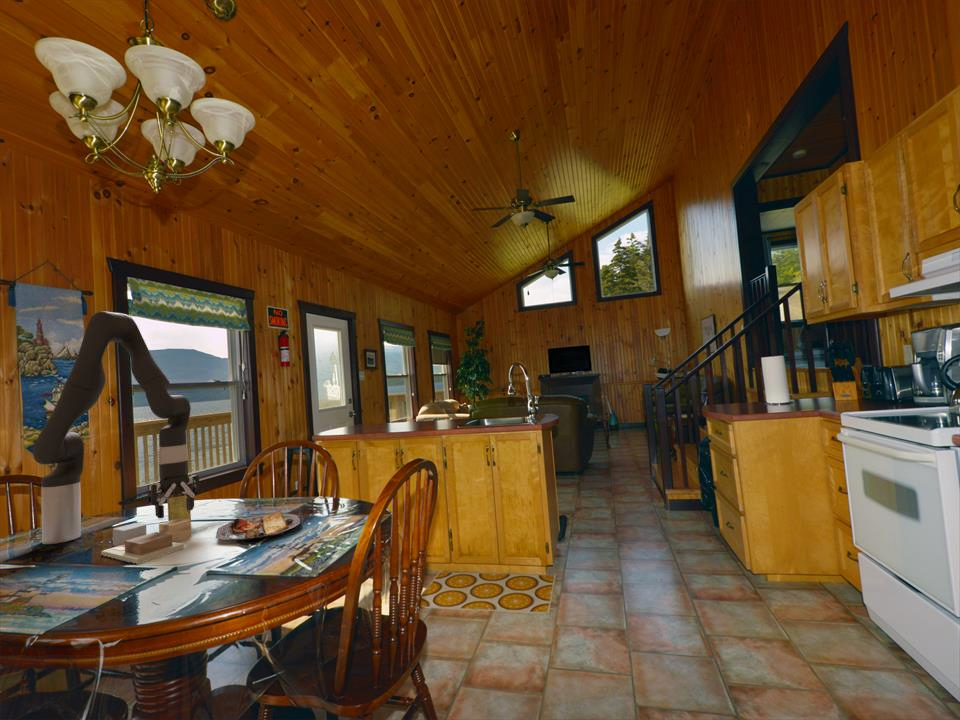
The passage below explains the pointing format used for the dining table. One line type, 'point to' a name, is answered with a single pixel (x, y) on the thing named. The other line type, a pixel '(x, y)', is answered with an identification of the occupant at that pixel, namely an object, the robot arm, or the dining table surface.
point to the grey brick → (128, 533)
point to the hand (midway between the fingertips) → (175, 513)
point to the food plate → (258, 526)
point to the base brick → (148, 543)
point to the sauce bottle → (178, 507)
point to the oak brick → (176, 528)
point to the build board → (129, 557)
